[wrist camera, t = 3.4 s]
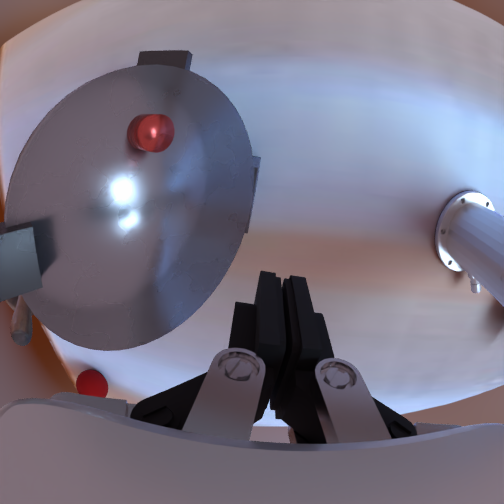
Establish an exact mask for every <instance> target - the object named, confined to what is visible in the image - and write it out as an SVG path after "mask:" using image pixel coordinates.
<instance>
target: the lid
mask: <svg viewBox="0 0 504 504" xmlns="http://www.w3.org/2000/svg"><path fill="white" fill-rule="evenodd" d="M253 187H254V167H253V157H252V150H251V145H250V141H249V137H248V134H247V131H246V129H245V126H244V124H243V121H242V119H241V117H240V115H239V114H238V112H237V110H236V108H235V107H234V106H233V104H232V103H231V101H230V100H229V99H228V97H227V96H226V95H225V94H224V93H223V92H222V91H221V90H220V89H219V88H218V87H216V86H215V85H214V84H212V83H211V82H209V81H208V80H207V79H205V78H203V77H201V76H199V75H197V74H195V73H193V72H191V71H188V70H185V69H182V68H178V67H174V66H166V65H140V66H133V67H129V68H125V69H121V70H117V71H113V72H110V73H107V74H105V75H103V76H100V77H98V78H96V79H93V80H91V81H89V82H87V83H85V84H84V85H82V86H81V87H79V88H77V89H76V90H74V91H73V92H71V93H70V94H68V95H67V96H66V97H65V98H64V99H62V100H61V101H60V102H59V103H58V104H57V105H56V106H55V107H54V108H52V109H51V110H50V111H49V112H48V114H47V115H46V116H45V117H44V118H43V120H42V121H41V122H40V123H39V125H38V126H37V127H36V128H35V130H34V131H33V132H32V134H31V136H30V137H29V139H28V141H27V143H26V144H25V146H24V148H23V150H22V151H21V153H20V155H19V158H18V160H17V163H16V165H15V168H14V171H13V173H12V176H11V179H10V183H9V188H8V192H7V197H6V202H5V215H4V222H1V223H0V302H1V301H4V300H7V299H10V298H13V297H16V296H19V295H22V297H23V299H24V301H25V302H26V304H27V305H28V307H29V308H30V309H31V311H32V312H33V314H34V315H35V316H36V317H37V318H38V319H39V320H40V321H41V322H42V323H43V324H44V325H45V326H46V327H47V328H48V329H49V330H50V331H52V332H53V333H55V334H56V335H58V336H59V337H61V338H62V339H64V340H66V341H68V342H71V343H73V344H75V345H78V346H81V347H85V348H88V349H94V350H103V351H112V350H123V349H129V348H134V347H137V346H140V345H144V344H147V343H149V342H151V341H154V340H156V339H158V338H160V337H162V336H164V335H165V334H167V333H169V332H171V331H172V330H173V329H175V328H176V327H178V326H179V325H181V324H182V323H183V322H184V321H185V320H187V319H188V318H189V317H190V316H191V315H193V314H194V313H195V312H196V311H197V310H198V309H199V308H200V307H201V306H202V305H203V303H204V302H205V301H206V300H207V299H208V298H209V296H210V295H211V294H212V293H213V291H214V290H215V289H216V287H217V286H218V285H219V283H220V282H221V280H222V279H223V277H224V275H225V274H226V272H227V271H228V269H229V267H230V265H231V263H232V261H233V259H234V257H235V255H236V253H237V251H238V248H239V246H240V244H241V241H242V238H243V235H244V233H245V230H246V226H247V222H248V219H249V214H250V210H251V205H252V197H253Z"/></svg>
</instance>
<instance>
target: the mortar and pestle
mask: <svg viewBox="0 0 504 504" xmlns="http://www.w3.org/2000/svg"><path fill="white" fill-rule="evenodd" d="M5 301H6V302H7V304H8V305H9V306H10V307H11V308H12V309H13V310H14V314H13V317H12V321H11V326H10V331H11V332H10V333H11V337H12V338H13V340H14V342H15V343H16V344H18V345H21V346H25V345H27V344H28V343H29V342H30V340H31V336H32V317H31V316H32V315H34V314H33V312H32V311H31V309H30V308H29V307H28V305H27V304H26V302H25V301H24V299H23V297H22V295H19V296H16V297H13V298H10V299H7V300H5Z"/></svg>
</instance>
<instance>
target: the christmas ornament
mask: <svg viewBox="0 0 504 504" xmlns="http://www.w3.org/2000/svg"><path fill="white" fill-rule="evenodd" d="M76 387H77V391H78V393H79V394H81V395H88V396H95V397H103V398H105V397H106V395H107V393H108V384H107V381H106V379H105V377H104V376H103V375H102V374H101V373H99V372H97V371H95V370H85V371H83V372H82V373H80V375H79V376H78V378H77V381H76Z"/></svg>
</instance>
